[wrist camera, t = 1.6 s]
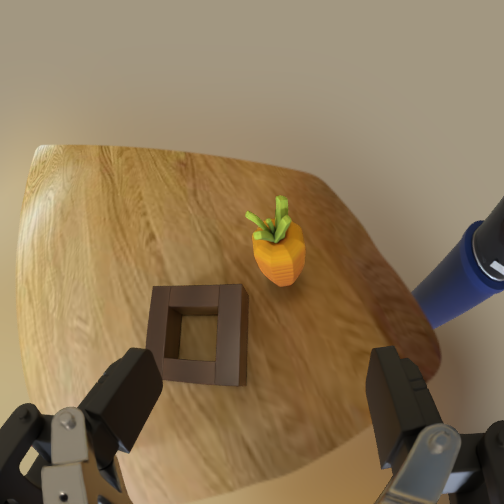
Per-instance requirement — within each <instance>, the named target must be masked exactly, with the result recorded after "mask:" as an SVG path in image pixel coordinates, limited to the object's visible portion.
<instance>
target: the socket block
mask: <svg viewBox="0 0 504 504" xmlns="http://www.w3.org/2000/svg"><path fill="white" fill-rule="evenodd" d="M248 296H249V295H248V293H247V292H246V290H245V288H244V287H243V285H242V284H225V285H192V286H153V290H152V297H151V304H150V312H149V320H148V329H147V338H146V349H149V350H150V351H151V352H152V354H153V356H154V359H155V361H156V364H157V367H158V369H159V372H160V374H161V377H162V380H169V381H177V382H187V383H197V384H209V385H224V386H246V378H247V336H248ZM182 315H218V325H217V345H216V362H215V361H197V360H183V359H178V356H179V342H180V330H181V318H182Z"/></svg>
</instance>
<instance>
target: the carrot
mask: <svg viewBox="0 0 504 504" xmlns="http://www.w3.org/2000/svg"><path fill="white" fill-rule="evenodd" d="M245 216H246V217H247V218H248V219H250V220H251V221H253V222H255V223H256V224H257V225H258V226H259V227H258V229H257V230H256V231H255V232H254V233H253V234H252V240H253V250H254V257H255V259H256V262H257V264H258V266H259V268H260V270H261V271H262V273H263V274H264V275H265V276H266V277H267V278H268V279H270V280H271V281H272V282H274V283H275V284H277V285H278V286H279V287H282V286H288V285H292V284H293V283H294V281H295V280H296V279H297V277H298V276H299V275H300V273H301V271H302V269H303V267H304V262H305V251H306V248H305V243H304V238H303V233H302V228H301V227H300V226H299V225H297V224H295V223H294V222H292V221H291V218H290V217H289V216H288V200H287V198H286V197H284V196H280V195H279V196H276V211H275V219H270V218H268V219H266V220H265V221H264V222H263V221H262V220H261V219H260V218H259V217H258V216H256V215H255V214H253V213H251V212H249V211H247V212H246V215H245Z"/></svg>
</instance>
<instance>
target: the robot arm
mask: <svg viewBox="0 0 504 504" xmlns="http://www.w3.org/2000/svg"><path fill="white" fill-rule="evenodd" d="M471 249H472V254H473V257H474V260H475V262H476V264H477V266H478V268H479V269H480V271H481V272H482V273H483V274H484V275H485V276H486V277H487V278H489V279H490V280H492V281H495V282H502V281H504V196H503V198H502V199H501V200H500V202H499V203H498V204H497V206H496V207H495V208H494V210H493V211H492V212H491V214H490V215H489V216H488V217H487V218H486V220H485V221H484V222H483V223H482V224H481V226H479V227H478V228H477V229H476V231H475V232H474V234H473V236H472V240H471ZM162 388H163V380H162V377H161V374H160V372H159V369H158V367H157V364H156V361H155V359H154V356H153V354H152V352H151V351H150V350H149V349H141V348H130V349H129V350H128V351H127V352H126V354H125V355H124V356H123V358H120V359H119V360H117V361H116V362H114V363H113V364H111V365H110V366H109V367H108V369H107V370H106V371H105V373H104V375H103V376H101V378H100V379H99V380H98V383H96V384H95V385H94V387H93V388H92V389H91V390H90V392H89V393H88V394H87V396H86V397H85V398H84V400H83V401H82V402H81V403H80V405H79V406H78V407H77V408H76V407H67V408H64V409H61V410H60V411H58V412H57V413H56V414H55V415H43V414H41V413H40V411H39V410H38V409H37V407H36V406H35V405H34V404H31V403H26V404H23V405H21V406H19V407H18V408H17V409H16V410H15V411H14V412H13V413H12V414H11V416H10V417H9V418H8V420H7V421H6V422H5V423H4V425H3V426H2V427H1V429H0V504H133V503H132V501H131V500H130V498H129V496H128V493H127V490H126V487H125V484H124V480H123V477H122V473H121V470H120V466H119V462H118V459H117V457H116V455H115V454H116V452H117V451H118V450H119V451H122V452H125V453H130V451H131V449H132V447H133V445H134V443H135V441H136V440H137V438H138V436H139V434H140V432H141V430H142V428H143V426H144V424H145V422H146V421H147V419H148V417H149V415H150V413H151V411H152V409H153V407H154V405H155V404H156V402H157V400H158V398H159V396H160V394H161V392H162ZM366 396H367V400H368V405H369V409H370V414H371V418H372V423H373V428H374V433H375V438H376V442H377V448H378V454H379V459H380V465H381V469H386V468H392V473H393V476H392V478H391V479H390V481H389V482H388V484H387V485H386V487H385V489H384V490H383V492H382V493H381V494H380V496H379V497H378V499H377V500H376V502H375V503H374V504H437V502H438V500H439V498H440V496H441V494H443V493H444V494H445V493H448V495H449V500H450V504H504V421H503V420H502V421H497V422H495V423H493V424H492V425H491V426H490V427H489V428H488V430H487V431H486V433H476V434H459V433H458V431H457V430H456V429H455V428H453V427H452V426H450V425H447V424H444V423H443V421H442V419H441V417H440V415H439V412H438V410H437V408H436V405H435V403H434V401H433V398H432V396H431V394H430V392H429V389H427V385H426V383H425V381H424V379H423V376H422V374H421V372H420V370H419V368H418V366H417V365H415V364H414V363H413V362H412V361H411V360H410V359H409V358H404V359H400V357H399V355H398V353H397V351H396V349H395V347H394V346H387V347H380V348H373V349H372V351H371V356H370V362H369V367H368V373H367V378H366ZM31 446H33V448H34V449H35V450H37V452H38V453H39V455H38V457H37V458H36V460H35V462H34V463H33V465H32V466H31V468H30V470H29V471H28V473H27V474H26V475H25V476H23V475H22V474H21V472H20V469H19V465H20V462H21V461H22V459H23V458H24V456H25V455H26V453H27V452H28V450H29V449H30V447H31Z"/></svg>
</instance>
